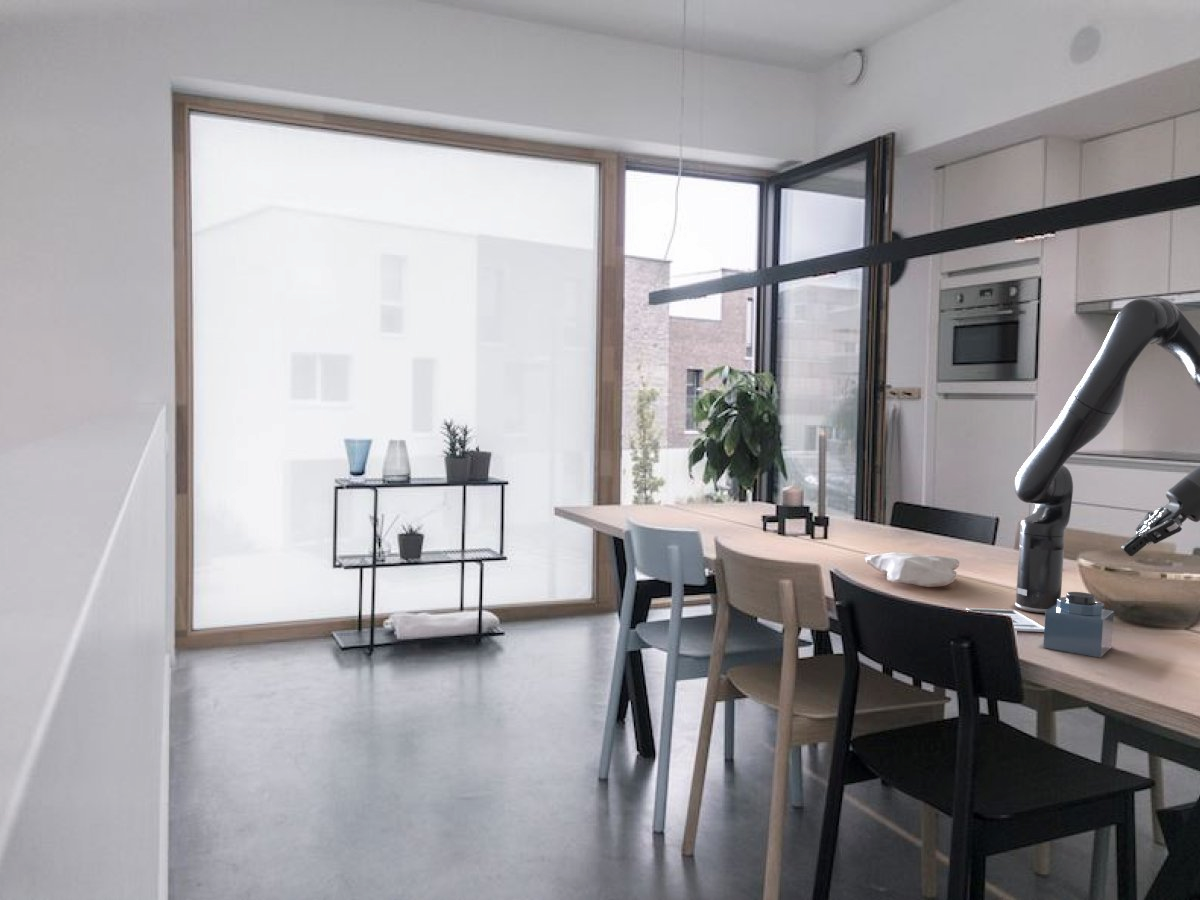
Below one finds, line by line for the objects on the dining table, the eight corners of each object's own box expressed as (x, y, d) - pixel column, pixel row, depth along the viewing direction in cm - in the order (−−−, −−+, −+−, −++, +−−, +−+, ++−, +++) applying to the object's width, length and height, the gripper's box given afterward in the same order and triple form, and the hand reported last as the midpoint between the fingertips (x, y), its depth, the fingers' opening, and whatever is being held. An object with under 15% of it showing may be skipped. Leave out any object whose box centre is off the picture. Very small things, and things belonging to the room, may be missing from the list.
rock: (877, 586, 243) (859, 573, 273) (975, 592, 241) (946, 578, 270) (878, 554, 243) (860, 545, 273) (976, 559, 241) (947, 550, 271)
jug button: (1069, 599, 194) (1070, 590, 194) (1097, 603, 191) (1098, 594, 191) (1063, 603, 190) (1063, 594, 190) (1091, 607, 187) (1092, 598, 187)
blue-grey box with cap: (1056, 638, 198) (1059, 593, 197) (1111, 647, 192) (1114, 601, 191) (1043, 647, 190) (1046, 601, 189) (1100, 657, 184) (1103, 609, 183)
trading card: (1048, 632, 202) (1014, 612, 220) (1048, 629, 202) (1014, 609, 220) (995, 630, 203) (965, 610, 221) (995, 627, 203) (965, 607, 221)
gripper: (1173, 473, 192) (1101, 532, 195) (1200, 479, 179) (1122, 542, 182) (1201, 502, 191) (1128, 561, 194) (1230, 510, 178) (1151, 573, 181)
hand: (1125, 552), depth 188 cm, fingers closed
